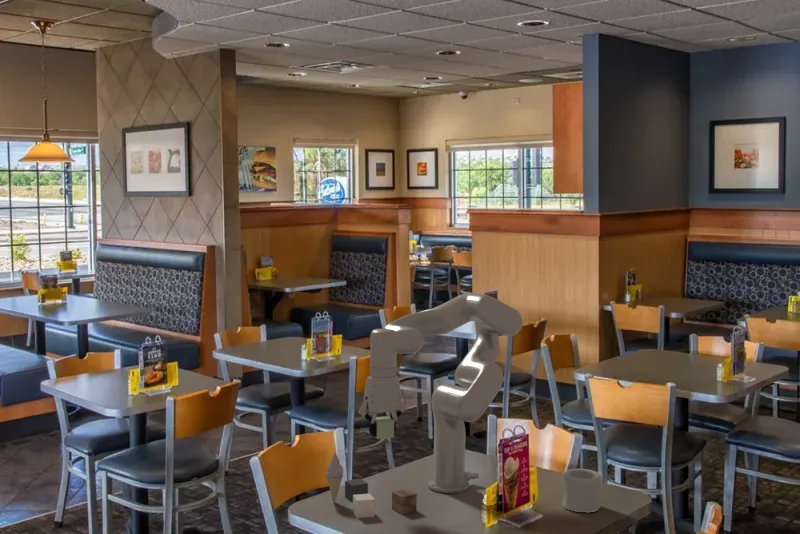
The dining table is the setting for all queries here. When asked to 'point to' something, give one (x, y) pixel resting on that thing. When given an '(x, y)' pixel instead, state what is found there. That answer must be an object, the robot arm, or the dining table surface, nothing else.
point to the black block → (355, 488)
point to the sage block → (384, 427)
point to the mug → (581, 490)
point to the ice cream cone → (334, 476)
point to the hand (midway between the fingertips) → (382, 434)
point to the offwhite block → (363, 505)
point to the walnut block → (404, 501)
